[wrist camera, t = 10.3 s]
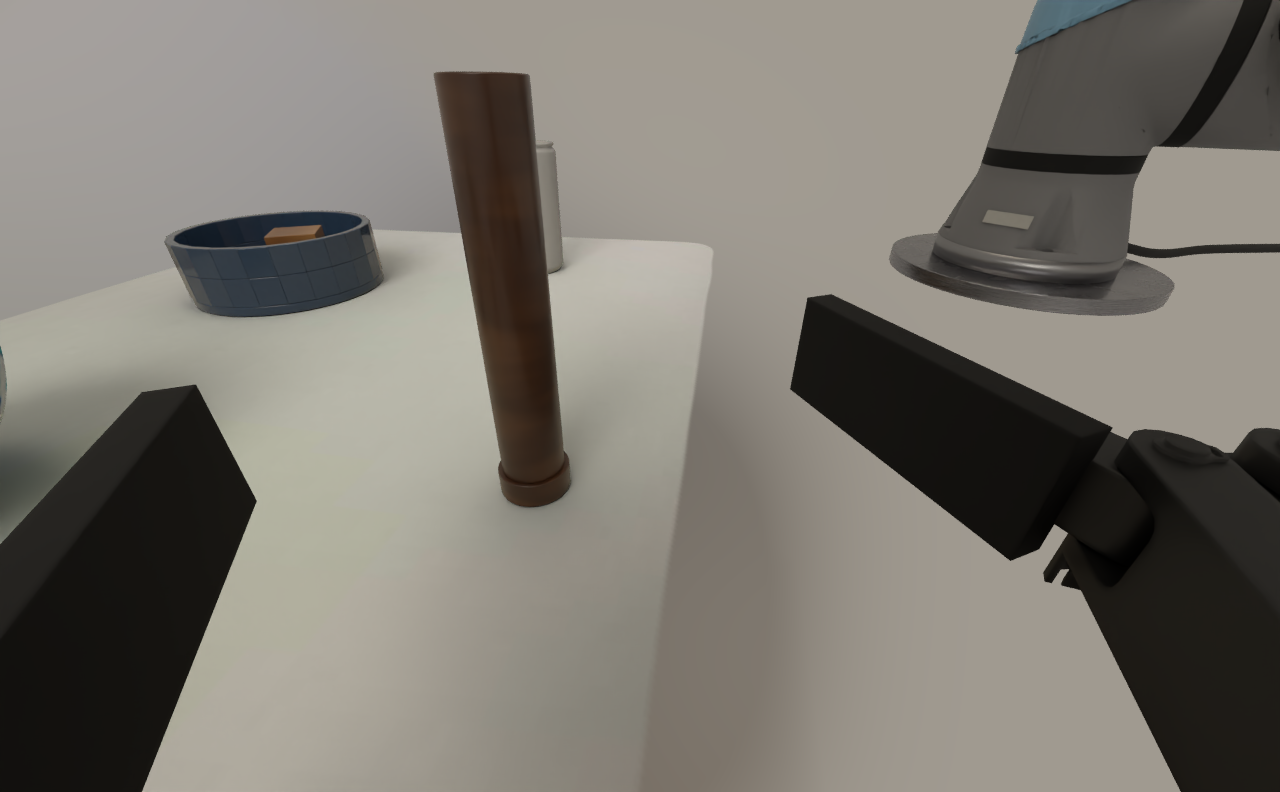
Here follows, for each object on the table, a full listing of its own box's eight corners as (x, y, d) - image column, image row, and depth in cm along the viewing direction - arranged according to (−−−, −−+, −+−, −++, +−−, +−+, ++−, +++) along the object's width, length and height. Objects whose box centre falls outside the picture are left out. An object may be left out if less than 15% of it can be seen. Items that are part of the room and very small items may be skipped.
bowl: (387, 258, 56) (374, 206, 53) (378, 303, 43) (361, 239, 41) (225, 272, 51) (201, 216, 48) (165, 327, 39) (128, 256, 36)
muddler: (562, 456, 25) (526, 76, 17) (578, 497, 23) (545, 73, 14) (497, 470, 24) (425, 74, 16) (506, 515, 22) (426, 70, 13)
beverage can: (569, 263, 54) (561, 140, 48) (555, 276, 50) (545, 144, 44) (527, 261, 55) (514, 139, 49) (510, 273, 51) (493, 143, 45)
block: (334, 265, 50) (321, 224, 48) (328, 276, 47) (314, 233, 45) (288, 269, 49) (273, 227, 47) (280, 281, 46) (263, 237, 44)
